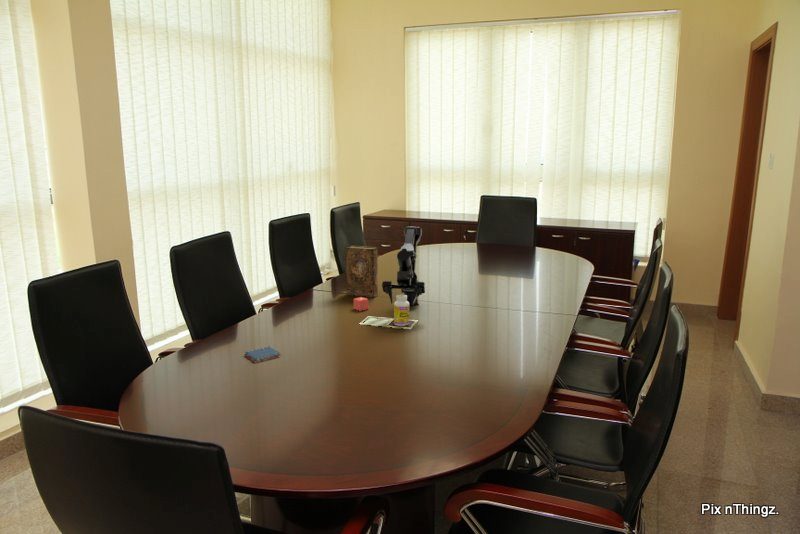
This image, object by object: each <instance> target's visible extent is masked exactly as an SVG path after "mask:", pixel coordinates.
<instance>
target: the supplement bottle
mask: <svg viewBox="0 0 800 534" xmlns="http://www.w3.org/2000/svg"><path fill="white" fill-rule="evenodd" d="M395 299H396V300H395V301H394V303H393V318H394V321H393V324H394V325H395V326H398V327H407V326H409V325H410V321H409V320H410V306H409V302H408V301H407V295H404V293H402V294H396V297H395ZM406 325H407V326H406Z"/></svg>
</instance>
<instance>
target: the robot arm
mask: <svg viewBox="0 0 800 534" xmlns="http://www.w3.org/2000/svg"><path fill="white" fill-rule="evenodd" d="M422 235H423V229H422V227H420V226H413V225H411V226H409V225H408V226H405V227H404V228H403V236H405V237H404V242H403V243H404V244H403V245H402V246H401V247H400V250H399V251H398V252H397V254H396V255H397V256H396V257H397V258H396V259H397V264H398V266H399V268H398V271H396V283H395V284H394V283H392V280H383V281H382V282H381V283H382V284H381V288H382V292H383V293H385V294H386V295H387V294H388V295H387V296H389V300H390V303H391V305H392V304H393V299H394V297H393V294H394V293H393V289H394V290H395V289H397V290H400V289H401V293H402V294H403V295H407V301H408V302H409V307H410V306H412V305H413V306H420V303H419V296H422V295H423V294H425V293H426V284H425V282H424V281H419V278H418V275H417V273H416V265H417V264H416V263H417V262H416V261H417V247H418V244H419V243H420V241H421V238H422Z"/></svg>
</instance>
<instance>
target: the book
mask: <svg viewBox="0 0 800 534" xmlns="http://www.w3.org/2000/svg"><path fill="white" fill-rule="evenodd" d="M344 250H345V251H344V253H345V256H344V257H345V258H344V259H345V267H344V268H345V294H346V295H347V296H353V295H355V296H356V297H362V296H366V297H365V298H372V297H374V298H377V297H378V296H379V280H378V279H379V278H378V275H379V274H378V273H379V272H378V271H379V270H378V269H379V268H378V267H379V266H378V265H379V264H378V263H379V262H378V261H379V260H378V247H376V246H363V245H350V246H349V247H348V246H346V247H345V248H344ZM355 296H354V297H355ZM376 296H377V297H376Z"/></svg>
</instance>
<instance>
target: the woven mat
mask: <svg viewBox="0 0 800 534" xmlns="http://www.w3.org/2000/svg"><path fill="white" fill-rule="evenodd" d="M244 356H245V357H246V358H248V359H250V361H252V362H254V363H255V364H258V363H260V362H265V361H269V360H273V359H277V358H280V357H281V353H280V352H278V350H276V349H274V348H273V347H271V346H267V347H266V346H265V347H262V348H257V349H252V350H249V351H245V352H244Z"/></svg>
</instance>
